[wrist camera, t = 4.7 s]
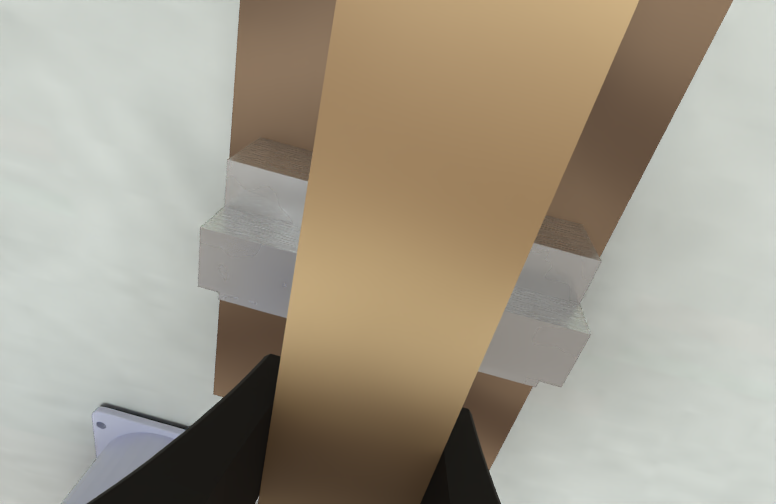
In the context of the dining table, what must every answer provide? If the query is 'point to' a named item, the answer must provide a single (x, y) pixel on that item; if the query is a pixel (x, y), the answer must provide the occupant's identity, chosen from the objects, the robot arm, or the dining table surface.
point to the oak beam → (420, 226)
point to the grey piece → (280, 244)
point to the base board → (572, 198)
